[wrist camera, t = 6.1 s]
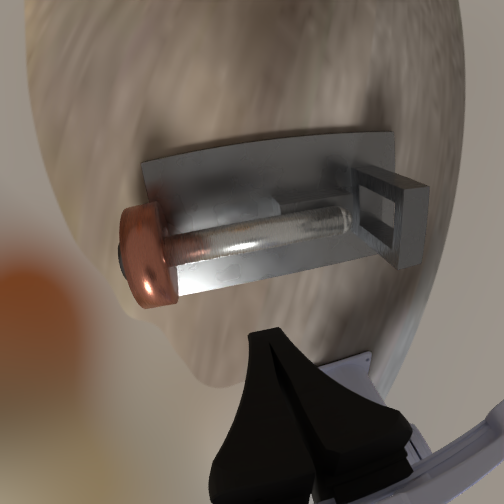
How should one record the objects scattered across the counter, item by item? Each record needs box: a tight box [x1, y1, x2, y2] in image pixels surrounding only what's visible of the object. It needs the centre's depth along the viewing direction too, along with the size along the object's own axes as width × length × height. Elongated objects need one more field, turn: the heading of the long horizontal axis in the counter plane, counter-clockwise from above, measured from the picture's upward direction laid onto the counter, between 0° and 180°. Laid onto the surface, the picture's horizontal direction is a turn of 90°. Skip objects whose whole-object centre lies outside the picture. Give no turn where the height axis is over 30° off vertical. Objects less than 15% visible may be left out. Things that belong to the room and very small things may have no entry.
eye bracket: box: [141, 131, 429, 296], centre depth 18 cm, size 10×18×7 cm, turn 97°
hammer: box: [118, 201, 352, 309], centre depth 17 cm, size 6×14×6 cm, turn 97°
